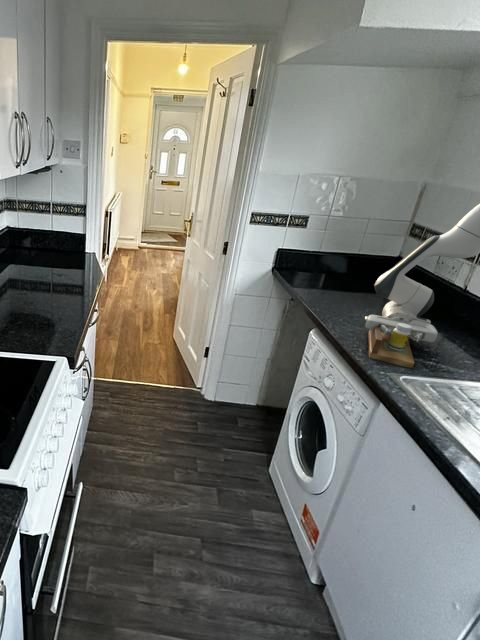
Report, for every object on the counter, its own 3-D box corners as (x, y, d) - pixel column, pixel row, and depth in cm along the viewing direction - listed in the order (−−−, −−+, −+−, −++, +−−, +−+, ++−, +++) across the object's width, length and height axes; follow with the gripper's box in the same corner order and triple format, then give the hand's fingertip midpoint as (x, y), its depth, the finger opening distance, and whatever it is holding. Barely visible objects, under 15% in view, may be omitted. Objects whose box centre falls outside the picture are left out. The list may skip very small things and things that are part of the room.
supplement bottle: (404, 352, 137) (414, 329, 133) (387, 348, 139) (396, 326, 135) (402, 346, 141) (412, 324, 137) (386, 342, 143) (395, 321, 139)
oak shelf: (405, 343, 149) (412, 325, 146) (412, 368, 131) (420, 349, 129) (367, 334, 154) (373, 317, 152) (368, 357, 137) (375, 339, 134)
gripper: (367, 307, 152) (368, 319, 140) (436, 321, 142) (442, 335, 131) (362, 323, 154) (362, 336, 143) (429, 337, 145) (435, 352, 134)
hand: (401, 336), depth 137 cm, fingers open, 7 cm apart
